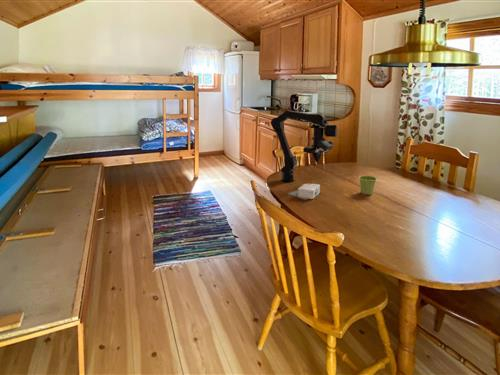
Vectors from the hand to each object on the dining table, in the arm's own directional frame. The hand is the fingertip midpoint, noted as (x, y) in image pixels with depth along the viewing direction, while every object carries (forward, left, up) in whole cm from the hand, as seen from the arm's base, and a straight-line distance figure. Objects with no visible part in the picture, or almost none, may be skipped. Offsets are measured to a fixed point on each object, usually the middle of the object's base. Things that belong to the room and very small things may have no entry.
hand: (317, 162), depth 213 cm
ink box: (+9, -13, -10) cm, 19 cm away
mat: (+8, -20, -13) cm, 25 cm away
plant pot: (+29, +8, -13) cm, 33 cm away
